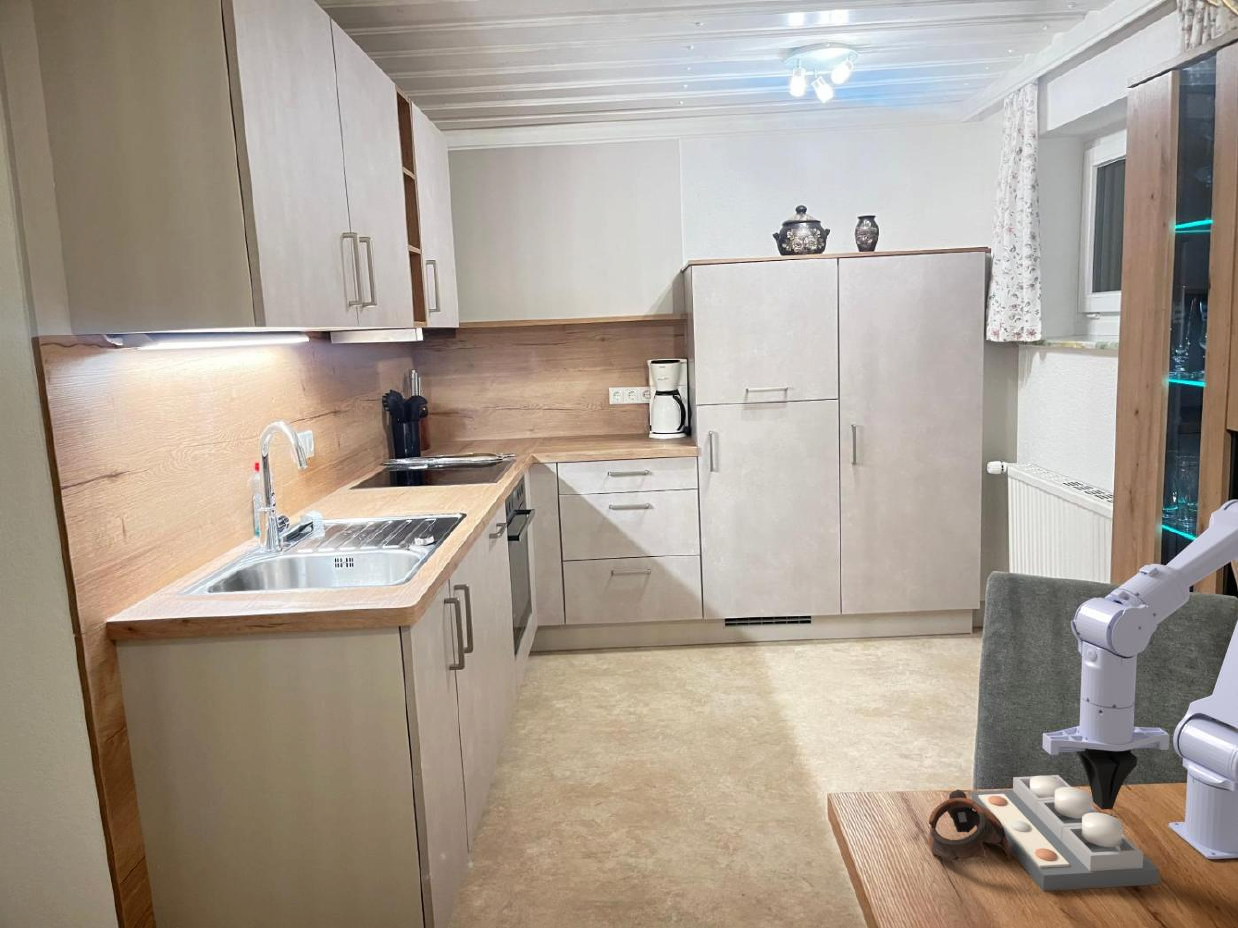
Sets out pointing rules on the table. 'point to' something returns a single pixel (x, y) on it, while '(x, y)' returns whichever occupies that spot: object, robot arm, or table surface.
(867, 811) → the table surface
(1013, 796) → the button board
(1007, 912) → the table surface
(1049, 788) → the button
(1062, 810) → the button middle
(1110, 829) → the button
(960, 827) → the brown broken pot
